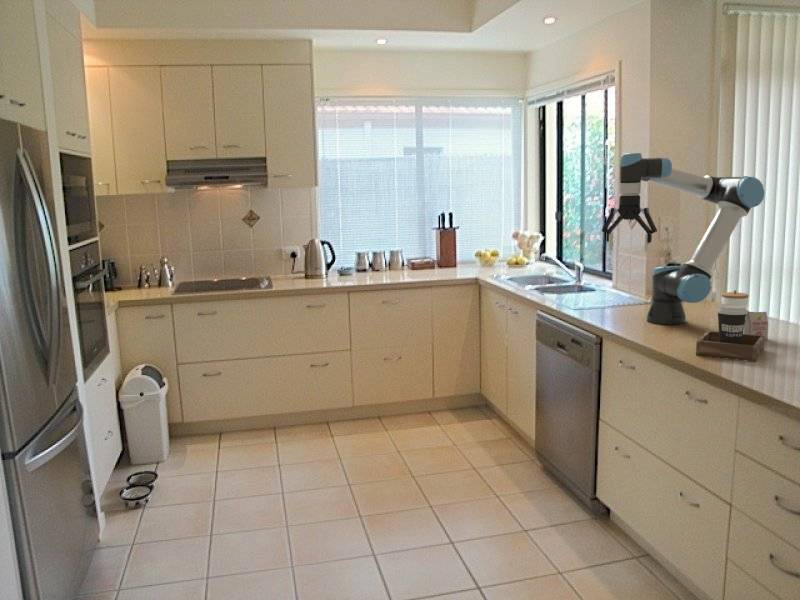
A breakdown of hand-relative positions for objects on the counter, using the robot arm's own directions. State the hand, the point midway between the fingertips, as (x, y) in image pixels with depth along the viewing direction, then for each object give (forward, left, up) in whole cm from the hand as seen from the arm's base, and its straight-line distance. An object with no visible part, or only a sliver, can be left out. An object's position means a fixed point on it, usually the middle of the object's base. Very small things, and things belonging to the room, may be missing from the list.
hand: (628, 251), depth 264 cm
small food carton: (-10, +44, -32) cm, 55 cm away
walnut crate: (+16, +40, -32) cm, 53 cm away
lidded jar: (-63, +28, -32) cm, 76 cm away
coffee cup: (+16, +40, -31) cm, 53 cm away
